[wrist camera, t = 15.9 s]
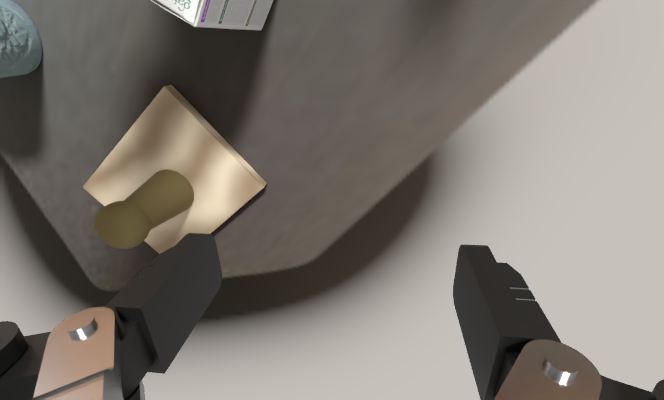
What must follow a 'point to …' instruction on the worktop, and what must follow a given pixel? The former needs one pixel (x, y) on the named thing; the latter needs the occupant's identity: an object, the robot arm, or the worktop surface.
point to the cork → (144, 209)
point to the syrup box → (220, 12)
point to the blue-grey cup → (17, 41)
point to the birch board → (177, 168)
